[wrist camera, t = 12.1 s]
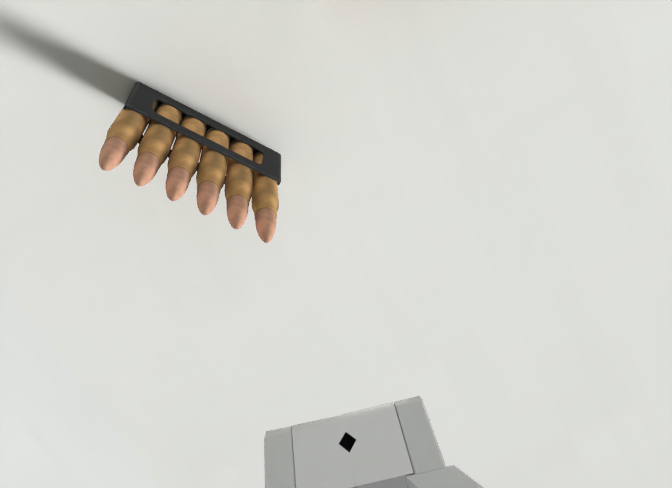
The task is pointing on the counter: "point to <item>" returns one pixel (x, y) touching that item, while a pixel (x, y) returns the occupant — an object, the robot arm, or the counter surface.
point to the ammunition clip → (196, 157)
